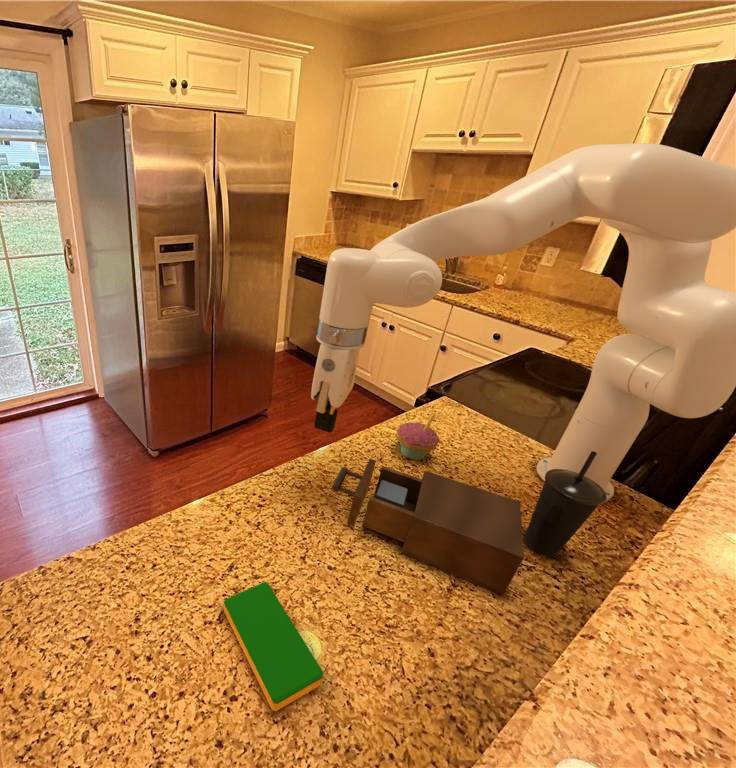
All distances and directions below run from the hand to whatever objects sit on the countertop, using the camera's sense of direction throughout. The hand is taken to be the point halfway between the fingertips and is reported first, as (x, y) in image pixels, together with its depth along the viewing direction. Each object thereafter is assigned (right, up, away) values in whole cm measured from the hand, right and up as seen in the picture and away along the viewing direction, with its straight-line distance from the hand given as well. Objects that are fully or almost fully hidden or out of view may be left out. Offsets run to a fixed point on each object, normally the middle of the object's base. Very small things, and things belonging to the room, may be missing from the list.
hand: (324, 428), depth 73 cm
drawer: (+11, -16, +2) cm, 19 cm away
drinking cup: (+36, -20, -3) cm, 42 cm away
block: (+11, -15, +1) cm, 19 cm away
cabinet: (+21, -20, -3) cm, 29 cm away
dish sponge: (-12, -27, -18) cm, 35 cm away
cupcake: (+24, -8, +19) cm, 31 cm away
